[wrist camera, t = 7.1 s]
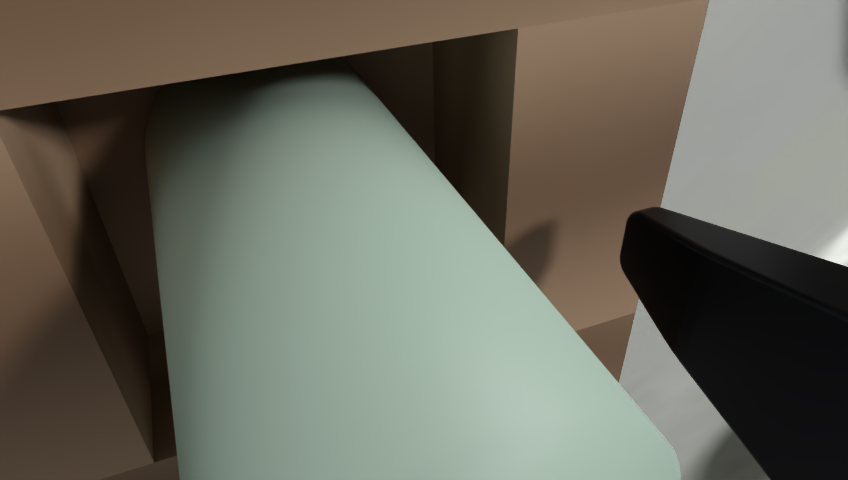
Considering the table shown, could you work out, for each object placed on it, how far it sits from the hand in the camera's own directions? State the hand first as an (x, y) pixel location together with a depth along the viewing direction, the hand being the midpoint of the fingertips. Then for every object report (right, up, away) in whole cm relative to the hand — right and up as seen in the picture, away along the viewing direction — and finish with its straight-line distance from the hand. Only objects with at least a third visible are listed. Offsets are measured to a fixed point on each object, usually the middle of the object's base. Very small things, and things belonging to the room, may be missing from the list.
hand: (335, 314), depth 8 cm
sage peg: (-1, +2, +3) cm, 4 cm away
